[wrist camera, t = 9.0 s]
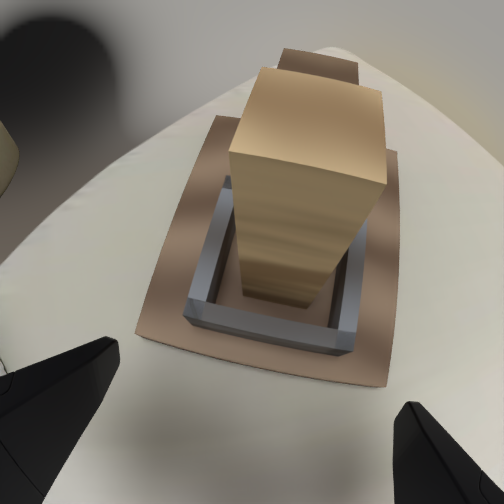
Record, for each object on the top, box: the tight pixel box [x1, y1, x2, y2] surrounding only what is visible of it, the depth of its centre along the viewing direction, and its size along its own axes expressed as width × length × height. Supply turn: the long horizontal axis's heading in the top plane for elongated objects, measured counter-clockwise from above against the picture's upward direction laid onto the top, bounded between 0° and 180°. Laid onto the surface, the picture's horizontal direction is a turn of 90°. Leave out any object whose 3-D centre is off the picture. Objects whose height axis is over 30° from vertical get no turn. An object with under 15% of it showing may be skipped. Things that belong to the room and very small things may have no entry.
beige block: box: [228, 67, 387, 310], centre depth 14 cm, size 5×4×13 cm
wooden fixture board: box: [134, 48, 400, 387], centre depth 18 cm, size 19×16×10 cm
